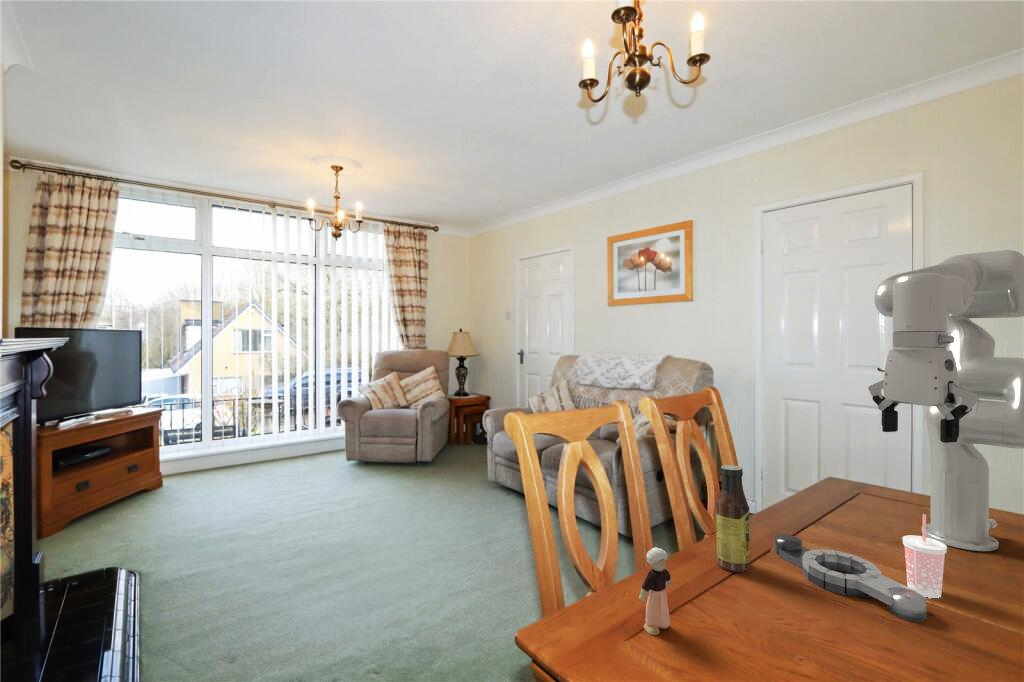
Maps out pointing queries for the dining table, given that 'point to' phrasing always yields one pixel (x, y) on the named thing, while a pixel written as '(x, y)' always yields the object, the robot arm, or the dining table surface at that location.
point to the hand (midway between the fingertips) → (917, 436)
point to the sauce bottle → (732, 522)
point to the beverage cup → (924, 563)
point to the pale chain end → (868, 583)
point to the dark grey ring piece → (794, 552)
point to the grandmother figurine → (656, 592)
